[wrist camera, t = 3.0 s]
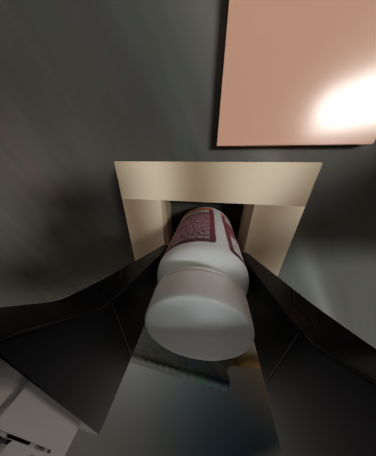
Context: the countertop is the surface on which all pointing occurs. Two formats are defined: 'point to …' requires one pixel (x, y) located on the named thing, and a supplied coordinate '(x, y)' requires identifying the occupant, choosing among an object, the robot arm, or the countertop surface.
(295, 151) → the countertop surface
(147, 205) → the frame block
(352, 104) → the terracotta tile
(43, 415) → the robot arm
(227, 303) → the pill bottle
